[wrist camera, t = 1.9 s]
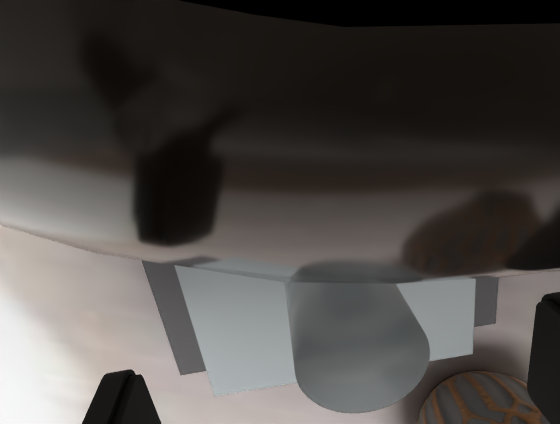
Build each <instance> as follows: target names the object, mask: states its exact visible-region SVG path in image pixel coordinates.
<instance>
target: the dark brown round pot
mask: <svg viewBox="0 0 560 424" xmlns="http://www.w3.org/2000/svg"><path fill="white" fill-rule="evenodd" d="M0 225H2V226H5V227H8V228H12V229H15V230H19V231H22V232H26V233H29V234H32V235H36V236H39V237H43V238H46V239H50V240H53V241H56V242H60V243H63V244H67V245H70V246H74V247H77V248H80V249H84V250H87V251H91V252H94V253H99V254H105V255H112V256H118V257H125V258H131V259H138V260H144V261H150V262H157V263H163V264H170V265H176V266H183V267H189V268H196V269H202V270H208V271H215V272H221V273H228V274H234V275H241V276H247V277H254V278H260V279H266V280H273V281H279V282H306V283H375V284H400V283H416V282H432V281H447V280H463V279H479V278H492V277H502V276H512V275H522V274H531V273H541V272H551V271H560V0H0Z"/></svg>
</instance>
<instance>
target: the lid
mask: <svg viewBox="0 0 560 424" xmlns="http://www.w3.org/2000/svg"><path fill="white" fill-rule="evenodd" d="M174 266H175V269H176V272H177V275H178V279H179V282H180V285H181V289H182V292H183V295H184V298H185V302H186V305H187V308H188V312H189V315H190V318H191V321H192V325H193V328H194V331H195V335H196V338H197V341H198V344H199V348H200V351H201V354H202V357H203V361H204V364H205V367H206V371H207V374H208V377H209V380H210V384H211V387H212V390H213V394H214V396H220V395H226V394H232V393H238V392H244V391H250V390H256V389H263V388H269V387H275V386H281V385H287V384H293V383H298V384H299V387H300V388H301V390H302V391H303V392H304V394H305V395H306V396H307V397H308V398H309V399H311V400H312V401H313V402H315V403H316V404H318V405H320V406H322V407H324V408H326V409H329V410H333V411H337V412H342V413H364V412H370V411H375V410H378V409H382V408H385V407H387V406H389V405H392V404H394V403H395V402H397V401H399V400H401V399H402V398H404V397H405V396H406V395H408V394H409V393H410V392H411V391H412V390H413V389H414V388H415V387H416V386H417V385H418V384H419V382H420V381H421V380H422V378H423V376H424V374H425V372H426V370H427V367H428V364H429V361H434V360H440V359H446V358H452V357H458V356H464V355H470V354H473V335H474V310H475V285H476V279H463V280H447V281H432V282H416V283H400V284H375V283H306V282H279V281H273V280H266V279H260V278H254V277H247V276H241V275H234V274H228V273H221V272H215V271H208V270H202V269H196V268H189V267H183V266H176V265H174Z"/></svg>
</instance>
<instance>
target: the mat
mask: <svg viewBox="0 0 560 424" xmlns="http://www.w3.org/2000/svg"><path fill="white" fill-rule="evenodd" d="M142 263H143V266H144V269H145V272H146V275H147V278H148V281H149V284H150V286H151V289H152V292H153V295H154V298H155V301H156V304H157V307H158V310H159V313H160V316H161V319H162V322H163V325H164V328H165V331H166V333H167V336H168V339H169V342H170V345H171V348H172V351H173V354H174V357H175V360H176V363H177V366H178V369H179V372H180V375H185V374H191V373H197V372H203V371H206V367H205V364H204V361H203V357H202V354H201V351H200V348H199V344H198V341H197V338H196V335H195V331H194V328H193V325H192V321H191V318H190V315H189V312H188V308H187V305H186V302H185V298H184V295H183V292H182V289H181V285H180V282H179V279H178V275H177V272H176V269H175V266H174V265H170V264H163V263H157V262H150V261H144V260H142ZM498 278H499V277H492V278H479V279H476V285H475V310H474V327H476V326H483V325H489V324H495V323H496V308H497V293H498Z"/></svg>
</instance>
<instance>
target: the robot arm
mask: <svg viewBox="0 0 560 424" xmlns="http://www.w3.org/2000/svg"><path fill="white" fill-rule="evenodd" d="M527 390H528V394H529V396H530V398H531V400H532V401H533V403H534V404H535V405H536V407H537V408H538V409H539V410H540V412H541V413H542V414H543V415H544V417H545V418H546V419H547V420H548V422H549V423H550V424H560V292H556V293H551V294H546V295H544V296H543V297H542V300H541V302H539V303H538V304H537V306H536V313H535V321H534V330H533V338H532V347H531V355H530V364H529V372H528V381H527ZM82 424H161V421H160V419H159V416H158V414H157V411H156V409H155V406H154V404H153V401H152V399H151V396H150V394H149V391H148V388H147V386H146V383H145V381H144V378H143V376H142V375H141V374H139V375H136V374H135V373H134V371H133V370H124V371H118V372H113V373H107V374H105V375H104V376H103V378H102V380H101V382H100V384H99V386H98V389H97V391H96V393H95V395H94V398H93V400H92V402H91V404H90V407H89V409H88V411H87V413H86V416H85V418H84V420H83V422H82Z"/></svg>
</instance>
